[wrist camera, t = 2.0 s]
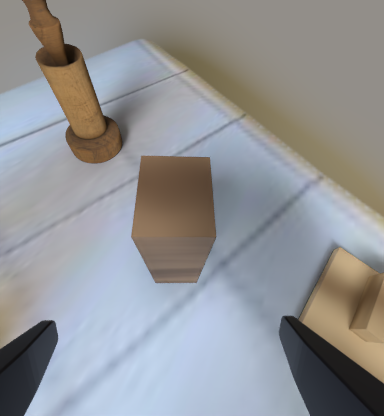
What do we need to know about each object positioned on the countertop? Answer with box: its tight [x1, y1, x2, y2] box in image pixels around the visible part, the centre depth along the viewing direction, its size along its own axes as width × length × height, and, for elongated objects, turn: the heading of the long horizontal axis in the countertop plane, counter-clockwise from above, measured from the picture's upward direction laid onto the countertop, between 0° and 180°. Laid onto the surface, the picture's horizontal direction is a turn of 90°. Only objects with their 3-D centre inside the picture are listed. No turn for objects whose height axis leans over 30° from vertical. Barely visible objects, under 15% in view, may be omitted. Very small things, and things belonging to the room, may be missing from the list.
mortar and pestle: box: [22, 0, 122, 163], centre depth 21 cm, size 7×6×18 cm
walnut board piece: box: [131, 156, 216, 283], centre depth 17 cm, size 5×4×12 cm
